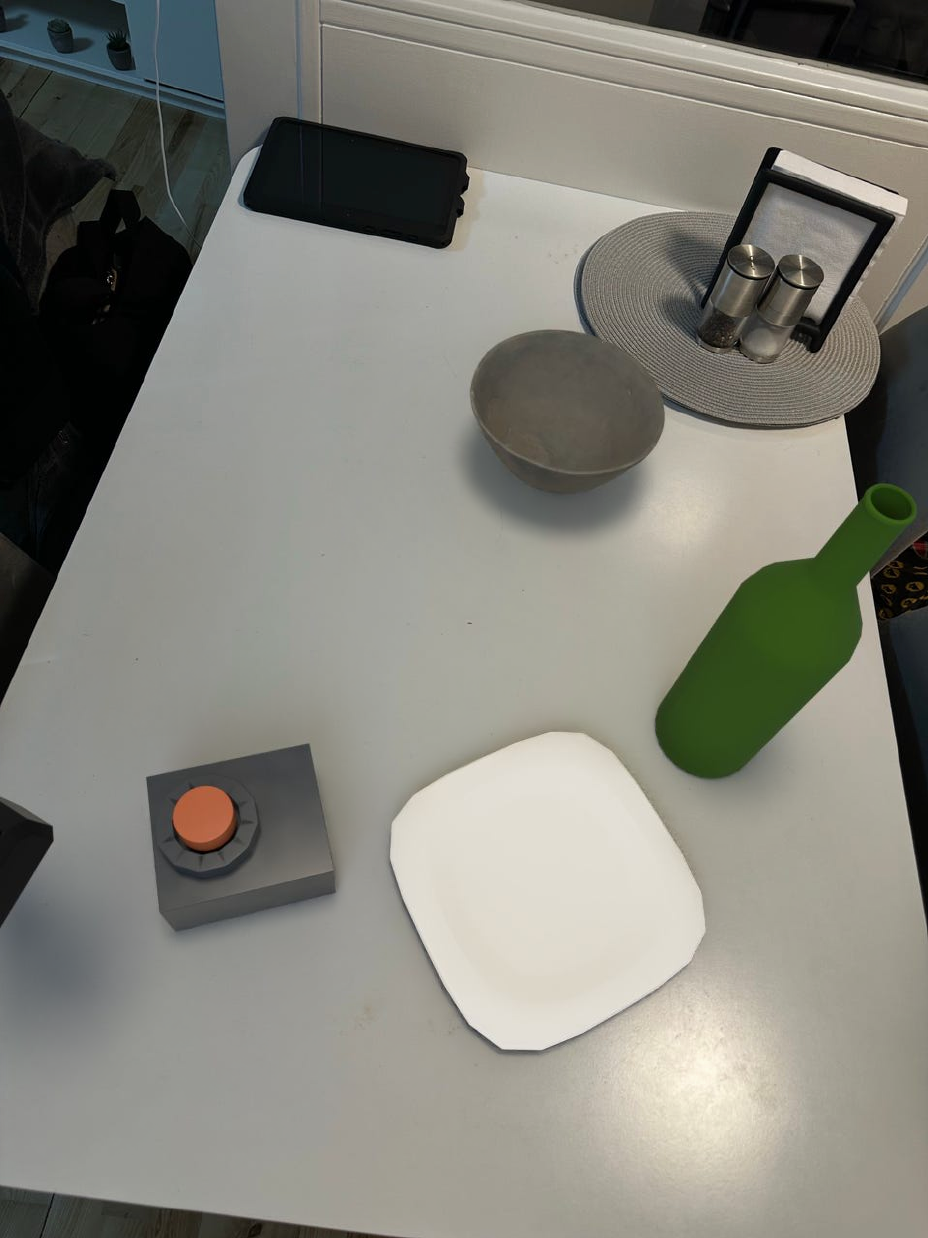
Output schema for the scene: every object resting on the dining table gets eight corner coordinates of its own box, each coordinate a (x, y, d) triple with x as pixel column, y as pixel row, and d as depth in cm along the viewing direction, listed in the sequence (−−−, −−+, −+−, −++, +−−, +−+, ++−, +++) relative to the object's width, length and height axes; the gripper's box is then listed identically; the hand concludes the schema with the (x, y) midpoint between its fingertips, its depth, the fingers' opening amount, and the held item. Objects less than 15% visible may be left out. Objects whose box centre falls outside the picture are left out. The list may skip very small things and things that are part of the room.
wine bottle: (723, 677, 81) (913, 432, 54) (770, 765, 77) (1001, 548, 49) (637, 700, 79) (788, 457, 51) (680, 792, 75) (869, 581, 47)
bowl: (437, 415, 94) (445, 342, 86) (596, 389, 99) (619, 317, 90) (494, 554, 86) (509, 488, 77) (666, 518, 90) (698, 452, 82)
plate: (586, 714, 78) (590, 706, 76) (731, 944, 69) (739, 940, 67) (361, 818, 71) (361, 811, 69) (489, 1089, 62) (492, 1088, 60)
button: (181, 857, 60) (176, 848, 59) (175, 802, 62) (169, 792, 61) (240, 843, 61) (236, 835, 60) (232, 790, 63) (228, 780, 61)
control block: (175, 932, 65) (154, 906, 58) (161, 804, 70) (140, 767, 63) (336, 892, 68) (333, 863, 61) (312, 772, 72) (308, 733, 66)
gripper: (-431, 847, 43) (-148, 890, 57) (-237, 1045, 35) (37, 1040, 49) (-281, 651, 46) (-46, 736, 60) (-71, 793, 38) (145, 855, 52)
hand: (15, 836), depth 55 cm, fingers closed
